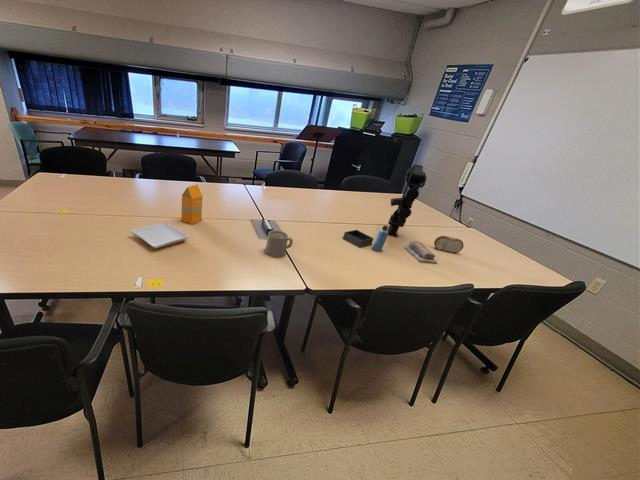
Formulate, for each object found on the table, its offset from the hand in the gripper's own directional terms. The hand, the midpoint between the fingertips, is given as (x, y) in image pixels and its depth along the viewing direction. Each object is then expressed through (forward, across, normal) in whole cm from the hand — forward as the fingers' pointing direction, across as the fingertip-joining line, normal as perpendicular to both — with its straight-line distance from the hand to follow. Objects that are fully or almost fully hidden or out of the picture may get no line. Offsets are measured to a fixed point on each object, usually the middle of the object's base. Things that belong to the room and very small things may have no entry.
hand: (399, 222), depth 181 cm
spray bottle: (+13, +17, -7) cm, 22 cm away
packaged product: (+13, +8, +16) cm, 22 cm away
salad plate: (+13, +79, -108) cm, 134 cm away
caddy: (+13, +12, -18) cm, 26 cm away
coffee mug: (+13, +56, -53) cm, 78 cm away
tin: (+13, -10, +31) cm, 35 cm away
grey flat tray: (+13, +31, -68) cm, 76 cm away
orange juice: (+13, +48, -109) cm, 120 cm away
